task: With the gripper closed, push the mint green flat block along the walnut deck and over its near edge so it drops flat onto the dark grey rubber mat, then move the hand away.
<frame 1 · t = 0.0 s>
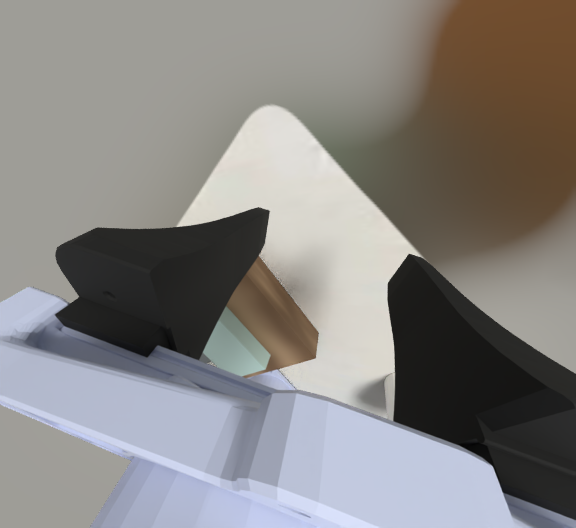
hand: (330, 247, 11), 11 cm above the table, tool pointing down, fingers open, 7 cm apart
mint green flat block: (230, 337, 26), point 4 cm above the table, touching deck
deck: (248, 313, 29), on the table
white short cylinder: (405, 383, 29), on the table
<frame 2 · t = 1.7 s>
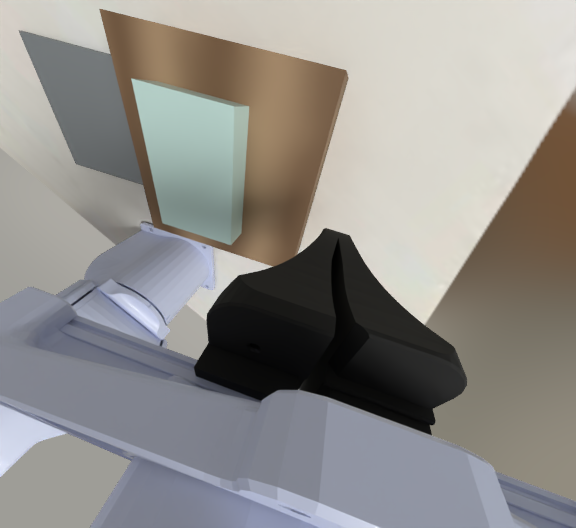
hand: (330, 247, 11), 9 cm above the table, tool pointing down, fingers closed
mint green flat block: (206, 170, 15), point 4 cm above the table, touching deck
mat: (110, 124, 19), on the table
deck: (241, 162, 18), on the table
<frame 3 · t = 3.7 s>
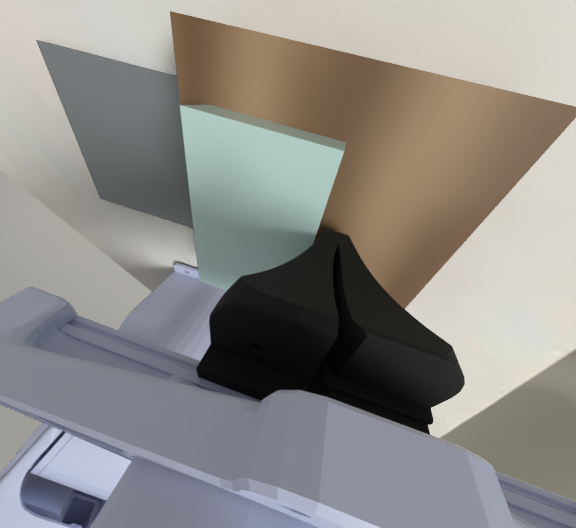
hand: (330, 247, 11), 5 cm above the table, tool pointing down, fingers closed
mint green flat block: (263, 218, 12), point 4 cm above the table, touching gripper
mat: (148, 155, 15), on the table
deck: (318, 205, 14), on the table
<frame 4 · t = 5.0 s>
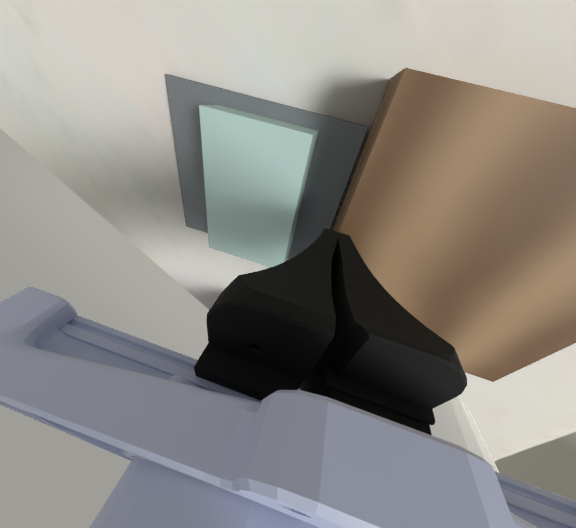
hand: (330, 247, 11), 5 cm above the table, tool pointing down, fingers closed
mint green flat block: (248, 204, 13), point 2 cm above the table, tilted 180°, touching mat
mat: (256, 187, 15), on the table
deck: (441, 242, 14), on the table
white short cylinder: (439, 404, 26), on the table
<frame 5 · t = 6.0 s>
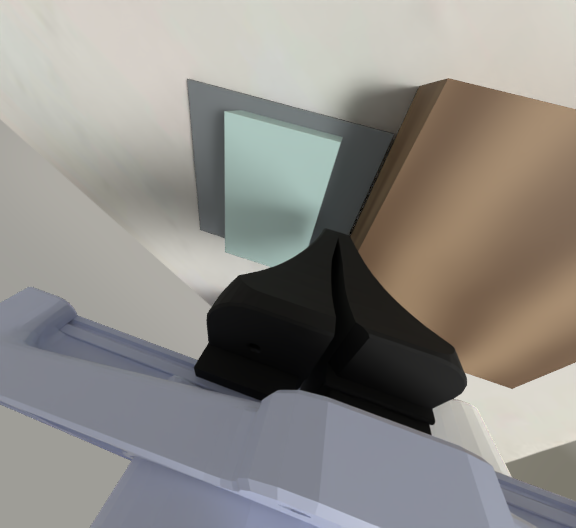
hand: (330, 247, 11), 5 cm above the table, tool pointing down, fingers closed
mint green flat block: (269, 210, 13), point 2 cm above the table, tilted 180°, touching mat
mat: (274, 192, 15), on the table
deck: (461, 249, 14), on the table
white short cylinder: (449, 408, 26), on the table
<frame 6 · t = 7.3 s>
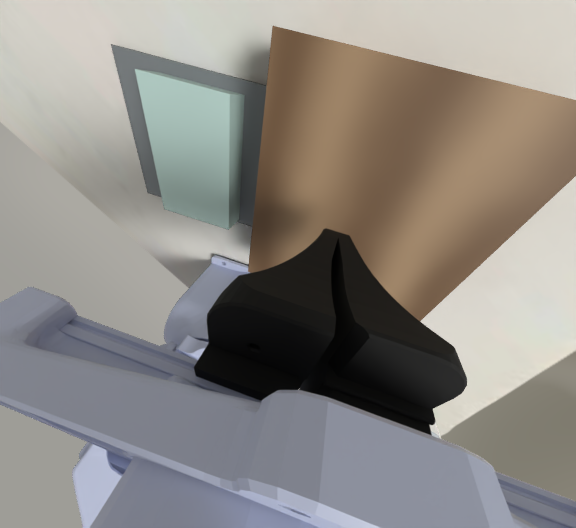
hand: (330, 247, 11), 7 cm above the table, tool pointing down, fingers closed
mint green flat block: (190, 163, 15), point 2 cm above the table, tilted 180°, touching mat
mat: (202, 152, 16), on the table
deck: (363, 200, 16), on the table
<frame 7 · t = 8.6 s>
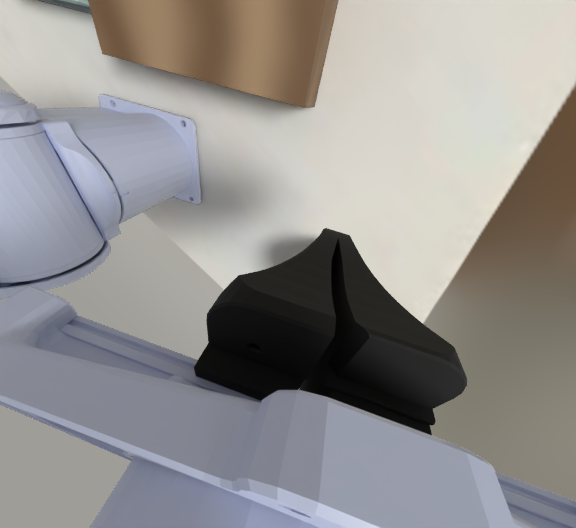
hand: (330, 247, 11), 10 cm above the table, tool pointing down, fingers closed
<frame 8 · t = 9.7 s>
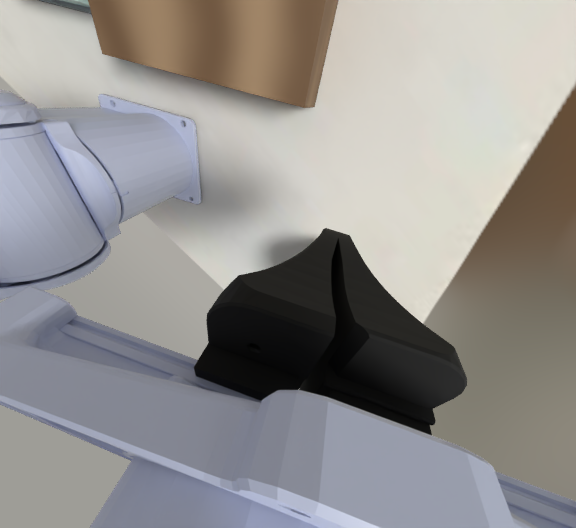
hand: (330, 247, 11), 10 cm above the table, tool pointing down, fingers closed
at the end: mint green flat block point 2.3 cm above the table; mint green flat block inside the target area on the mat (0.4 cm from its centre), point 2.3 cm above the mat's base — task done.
